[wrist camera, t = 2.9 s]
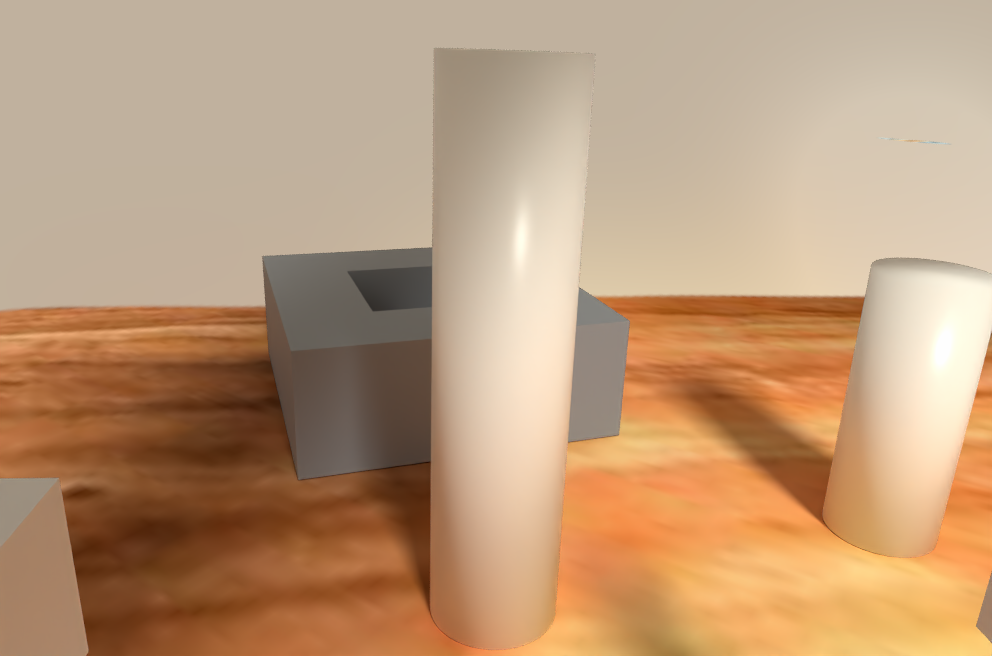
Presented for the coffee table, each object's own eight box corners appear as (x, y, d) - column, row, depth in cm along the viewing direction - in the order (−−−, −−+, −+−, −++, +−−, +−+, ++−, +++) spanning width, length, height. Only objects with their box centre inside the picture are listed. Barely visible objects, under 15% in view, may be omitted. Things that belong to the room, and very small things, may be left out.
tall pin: (528, 557, 25) (556, 51, 20) (576, 634, 22) (624, 55, 17) (416, 578, 24) (416, 46, 19) (450, 662, 21) (461, 50, 16)
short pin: (879, 491, 30) (932, 255, 27) (962, 546, 26) (1032, 285, 23) (800, 506, 28) (846, 261, 25) (876, 566, 25) (939, 294, 22)
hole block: (509, 330, 45) (513, 243, 43) (618, 434, 33) (629, 321, 32) (268, 352, 40) (262, 256, 39) (298, 479, 29) (290, 351, 27)
